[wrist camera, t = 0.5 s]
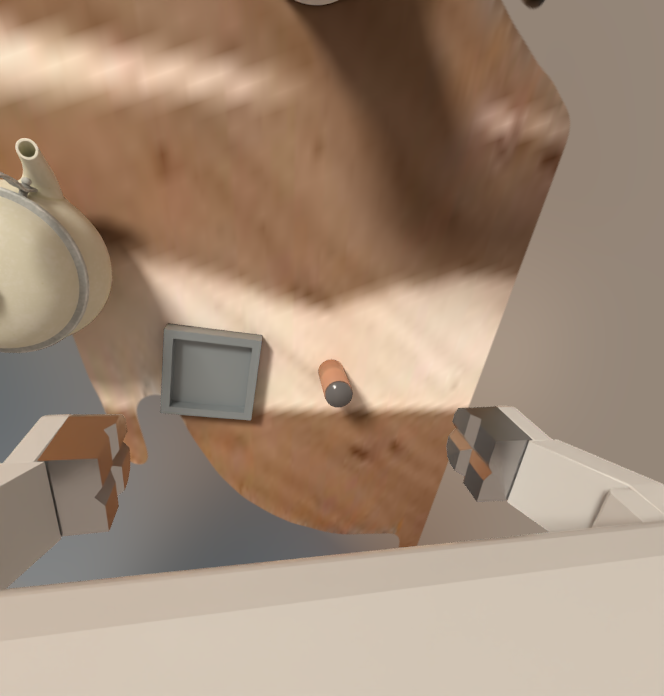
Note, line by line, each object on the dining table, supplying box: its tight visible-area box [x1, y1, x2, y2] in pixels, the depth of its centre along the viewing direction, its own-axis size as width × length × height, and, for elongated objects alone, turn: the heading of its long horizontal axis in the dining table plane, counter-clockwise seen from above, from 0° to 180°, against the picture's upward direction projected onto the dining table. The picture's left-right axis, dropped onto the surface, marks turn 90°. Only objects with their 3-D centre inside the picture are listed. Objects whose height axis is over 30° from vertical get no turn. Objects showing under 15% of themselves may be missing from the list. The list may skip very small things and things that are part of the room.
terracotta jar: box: [318, 360, 352, 407], centre depth 59 cm, size 4×4×8 cm
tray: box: [160, 323, 262, 420], centre depth 59 cm, size 13×13×2 cm
